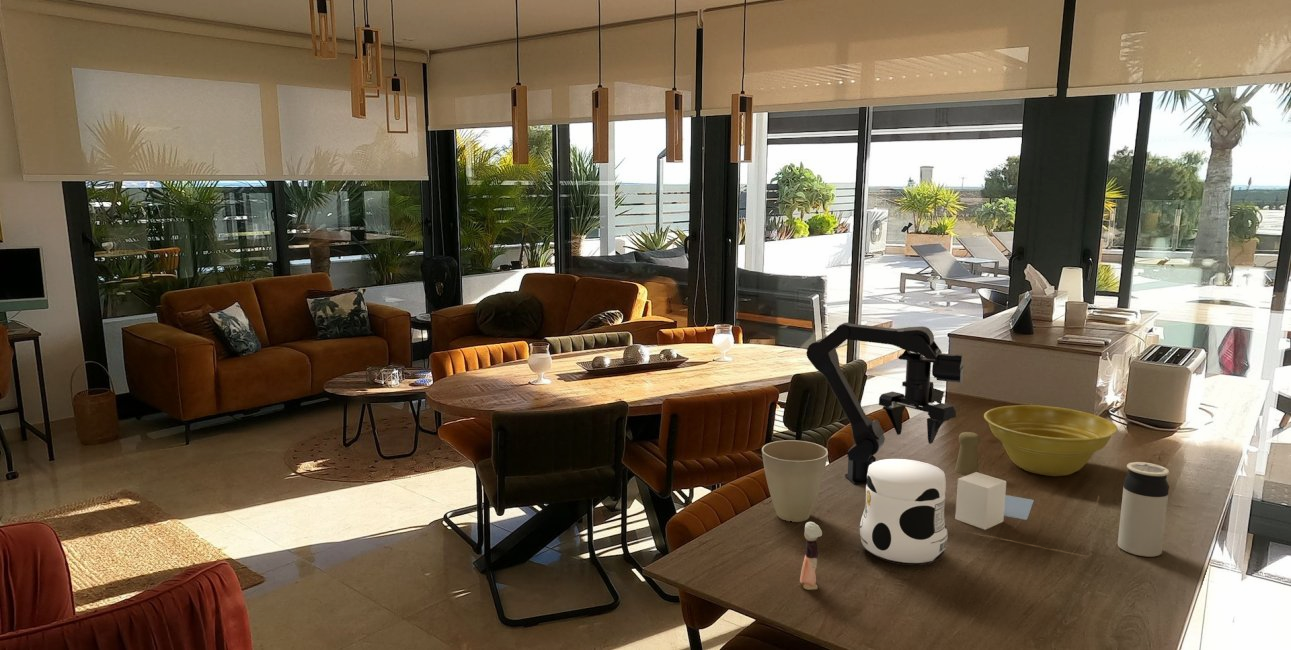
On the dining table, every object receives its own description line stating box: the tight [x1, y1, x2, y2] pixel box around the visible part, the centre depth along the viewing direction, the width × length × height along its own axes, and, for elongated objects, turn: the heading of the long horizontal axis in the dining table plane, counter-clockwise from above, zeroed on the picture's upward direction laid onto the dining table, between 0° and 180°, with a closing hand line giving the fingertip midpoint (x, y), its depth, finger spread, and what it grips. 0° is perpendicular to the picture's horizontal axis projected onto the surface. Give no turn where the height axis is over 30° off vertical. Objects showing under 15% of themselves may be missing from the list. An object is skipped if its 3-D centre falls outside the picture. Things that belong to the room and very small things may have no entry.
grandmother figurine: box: [799, 521, 823, 591], centre depth 155 cm, size 8×4×13 cm, turn 5°
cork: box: [954, 431, 980, 476], centre depth 217 cm, size 6×6×11 cm
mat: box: [1004, 494, 1035, 521], centre depth 195 cm, size 14×14×1 cm
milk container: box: [859, 458, 948, 566], centre depth 169 cm, size 17×17×18 cm
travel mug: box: [1117, 461, 1170, 558], centre depth 170 cm, size 8×8×18 cm
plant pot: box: [761, 439, 829, 523], centre depth 188 cm, size 15×15×16 cm
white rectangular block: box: [954, 472, 1007, 531], centre depth 185 cm, size 7×7×10 cm
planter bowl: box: [983, 404, 1119, 477], centre depth 220 cm, size 32×32×13 cm
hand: (914, 438), depth 204 cm, fingers open, 9 cm apart
